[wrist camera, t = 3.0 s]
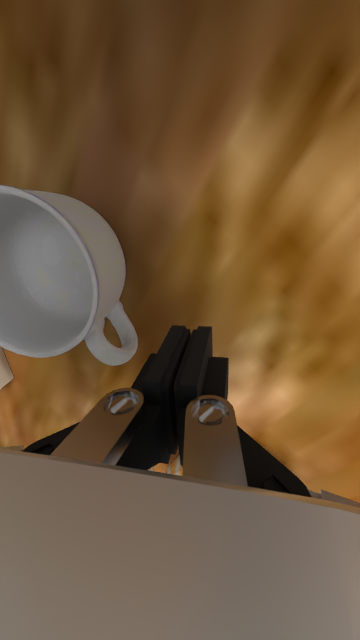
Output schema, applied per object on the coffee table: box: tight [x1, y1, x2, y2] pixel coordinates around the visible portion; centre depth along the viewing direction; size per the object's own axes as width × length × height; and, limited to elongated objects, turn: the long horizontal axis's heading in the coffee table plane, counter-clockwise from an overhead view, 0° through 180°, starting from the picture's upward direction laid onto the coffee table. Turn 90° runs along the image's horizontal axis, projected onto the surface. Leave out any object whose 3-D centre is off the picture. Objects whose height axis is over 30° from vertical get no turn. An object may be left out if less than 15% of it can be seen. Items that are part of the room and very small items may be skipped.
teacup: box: [0, 185, 138, 366], centre depth 20 cm, size 14×11×8 cm
